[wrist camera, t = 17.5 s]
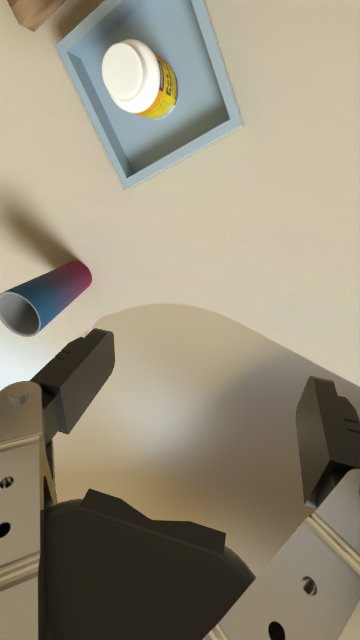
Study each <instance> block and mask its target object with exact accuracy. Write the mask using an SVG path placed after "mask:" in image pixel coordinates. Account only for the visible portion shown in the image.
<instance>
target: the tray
mask: <svg viewBox="0 0 360 640" xmlns="http://www.w3.org/2000/svg"><path fill="white" fill-rule="evenodd" d="M128 39H134V40H138V41H140V42H142V43H144V44H145V45H147V46H148V47H149V48H150V49H151V50H152V51H153V52H154V53H156V54H157V55H158V56H159V57H160V58H161V59H162V60H163V61H164V62H166V63H167V64H168V65H169V66H170V67H171V69H172V70H173V71H174V73H175V75H176V78H177V81H178V86H179V95H178V100H177V103H176V106H175V108H174V109H173V111H172V112H171V113H170V114H169V115H168V116H167V117H165V118H163V119H159V120H153V119H149V118H146V117H143V116H139V115H136V114H133V113H129V112H127V111H124V110H123V109H121V108H120V107H119V106H117V105H116V104H115V102H114V101H113V99H112V98H111V96H110V94H109V92H108V90H107V88H106V86H105V84H104V81H103V77H102V61H103V58H104V55H105V53H106V51H107V50H108V49H109V48H110V47H111V46H112V45H114V44H116V43H120V42H122V41H124V40H128ZM55 48H56V50H57V52H58V54H59V56H60V58H61V60H62V62H63V64H64V66H65V68H66V70H67V73H68V75H69V77H70V79H71V81H72V83H73V85H74V87H75V89H76V91H77V93H78V95H79V97H80V99H81V101H82V103H83V105H84V108H85V110H86V112H87V114H88V116H89V118H90V120H91V122H92V124H93V126H94V128H95V130H96V132H97V134H98V136H99V138H100V140H101V143H102V145H103V147H104V149H105V151H106V153H107V155H108V157H109V159H110V161H111V163H112V165H113V167H114V169H115V171H116V173H117V175H118V178H119V180H120V182H121V184H122V186H123V188H124V190H125V189H129V188H133V187H136V186H138V185H140V184H142V183H144V182H145V181H147V180H149V179H151V178H153V177H154V176H156V175H158V174H160V173H162V172H164V171H165V170H167V169H169V168H171V167H173V166H174V165H176V164H178V163H180V162H182V161H183V160H185V159H187V158H189V157H191V156H193V155H194V154H196V153H198V152H200V151H202V150H203V149H205V148H207V147H209V146H211V145H213V144H214V143H216V142H218V141H220V140H222V139H223V138H225V137H227V136H229V135H231V134H232V133H234V132H236V131H238V130H240V129H242V128H243V127H244V123H243V120H242V117H241V114H240V111H239V107H238V104H237V101H236V98H235V95H234V92H233V88H232V85H231V82H230V79H229V76H228V72H227V69H226V66H225V63H224V60H223V57H222V53H221V50H220V47H219V44H218V41H217V37H216V34H215V31H214V28H213V25H212V22H211V18H210V15H209V12H208V9H207V6H206V2H205V0H104V1H103V2H102V3H101V4H100V5H99V6H98V7H97V8H96V9H95V10H94V11H92V12H91V13H90V14H89V15H88V16H87V17H86V18H85V19H84V20H83V21H82V22H81V23H79V24H78V25H77V26H76V27H75V28H74V29H73V30H72V31H71V32H70V33H69V34H68V35H67V36H65V37H64V38H63V39H62V40H61V41H60V42H59V43H58V44H57V45H56V46H55Z"/></svg>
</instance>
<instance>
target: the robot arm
mask: <svg viewBox="0 0 360 640" xmlns="http://www.w3.org/2000/svg"><path fill="white" fill-rule="evenodd" d="M114 363H115V353H114V335H113V333H112V332H110V331H105V330H101V329H97V328H95V329H93V330H92V331H91V332H90V333H89V334H88V335H87V336H86V337H85V338H83V337H80V338H78V339H76V340H74V341H72V342H70V343H68V344H67V345H66V346H65V347H64V348H63V349H62V350H61V352H59V353H58V354H57V355H56V356H55V358H53V359H52V360H51V361H50V362H49V363H48V364H47V365H46V366H44V367H43V368H42V369H41V370H40V371H39V372H38V373H37V374H36V375H35V376H34V377H33V378H32V379H31V380H30V381H22V382H17V383H13V384H11V385H9V386H7V387H5V388H4V389H2V390H1V391H0V640H338V639H339V637H340V635H341V633H342V631H343V629H344V628H345V626H346V624H347V622H348V620H349V618H350V617H351V615H352V613H353V611H354V609H355V608H356V606H357V604H358V602H359V600H360V421H359V418H358V415H357V412H356V410H355V408H354V407H353V406H352V405H351V403H350V402H349V401H348V400H347V399H346V398H345V397H341V396H337V392H336V389H335V385H334V382H333V381H332V380H328V379H323V378H318V377H314V376H310V377H309V379H308V381H307V384H306V386H305V388H304V391H303V394H302V396H301V398H300V401H299V403H298V406H297V411H296V428H297V437H298V447H299V456H300V466H301V475H302V485H303V495H304V504H305V505H306V506H309V507H313V508H316V509H317V510H316V511H315V512H314V513H313V514H312V515H309V516H308V517H307V518H306V520H305V521H304V522H303V523H302V524H301V525H300V526H299V528H298V529H297V530H296V531H295V532H294V534H293V535H292V536H291V537H290V538H289V540H288V541H287V542H286V543H285V544H284V546H283V547H282V548H281V549H280V550H279V552H278V553H277V554H276V555H275V556H274V557H273V559H272V560H271V561H270V562H269V563H268V565H267V566H266V567H265V568H264V569H263V571H262V572H261V573H260V574H259V575H258V577H257V578H256V577H255V575H254V574H253V573H252V571H251V570H250V569H249V567H248V566H247V565H246V564H245V562H244V561H243V560H242V559H241V558H240V557H239V556H238V555H237V554H236V553H234V552H233V551H232V550H231V549H229V548H228V547H226V546H225V537H226V533H224V532H221V531H218V530H214V529H212V528H208V527H205V526H202V525H199V524H196V523H193V522H189V521H159V520H151V519H149V518H147V517H146V516H144V515H143V514H142V513H140V512H139V511H137V510H136V509H134V508H133V507H132V506H130V505H129V504H127V503H126V502H124V501H123V500H122V499H120V498H117V497H114V496H111V495H107V494H104V493H101V492H98V491H95V490H92V489H89V490H88V492H87V493H86V495H85V497H84V499H75V500H70V501H65V502H61V503H58V500H57V494H56V483H55V465H54V447H53V439H52V438H53V437H54V436H55V434H56V433H57V432H58V431H59V432H63V433H65V434H69V433H70V431H71V430H72V429H73V427H74V426H75V424H76V423H77V422H78V420H79V419H80V417H81V416H82V414H83V413H84V412H85V410H86V409H87V407H88V406H89V405H90V403H91V402H92V400H93V399H94V398H95V396H96V394H97V393H98V392H99V390H100V389H101V387H102V386H103V385H104V383H105V382H106V381H107V379H108V377H109V376H110V375H111V373H112V371H113V368H114Z"/></svg>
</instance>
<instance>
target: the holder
mask: <svg viewBox="0 0 360 640" xmlns="http://www.w3.org/2000/svg"><path fill="white" fill-rule="evenodd" d="M7 1H8V3H9V5H10V7H11V9H12V11H13V13H14V15H15V17H16V19H17V21H18V23H19V24H20V25H22V26H24V27H26V28H28V29H30V30H32V31H35V30H36V29H37V28H38V27H39V26H40V25H41V24H42V23H43V22H44V21H45V20H46V19H47V18H48V17H49V16H50V15H51V14H52V13H53V12H54V11H55V10H56V9H57V8H58V7H59V6H60V5H61V4H62V3H63V2H64V1H65V0H7Z"/></svg>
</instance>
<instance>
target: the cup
mask: <svg viewBox="0 0 360 640" xmlns="http://www.w3.org/2000/svg"><path fill="white" fill-rule="evenodd" d="M91 281H92V276H91V273H90V271H89V269H88V268H87V267H86V266H85V265H84V264H82V263H80V262H71V263H69V264H66V265H64V266H62V267H60V268H57V269H55V270H53V271H50V272H48V273H46V274H44V275H41V276H39V277H37V278H34V279H32V280H30V281H28V282H25V283H23V284H21V285H19V286H16V287H14V288H12V289H9V290H7V291H5V292H3V293H1V294H0V320H1V321H2V323H3V324H4V325H5V326H6V327H7V328H8V329H9V330H11V331H12V332H14V333H16V334H18V335H20V336H25V337H31V336H34V335H36V334H37V333H38V332H39V331H41V330H42V329H43V328H44V327H45V326H46V325H47V324H48V323H49V322H50V321H51V320H53V319H54V318H55V317H56V316H57V315H58V314H59V313H60V312H61V311H62V310H64V309H65V308H66V307H67V306H68V305H69V304H70V303H71V302H72V301H73V300H74V299H76V298H77V297H78V296H79V295H80V294H81V293H82V292H83V291H84V290H85V289H86V288H88V287H89V286H90V284H91Z"/></svg>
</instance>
